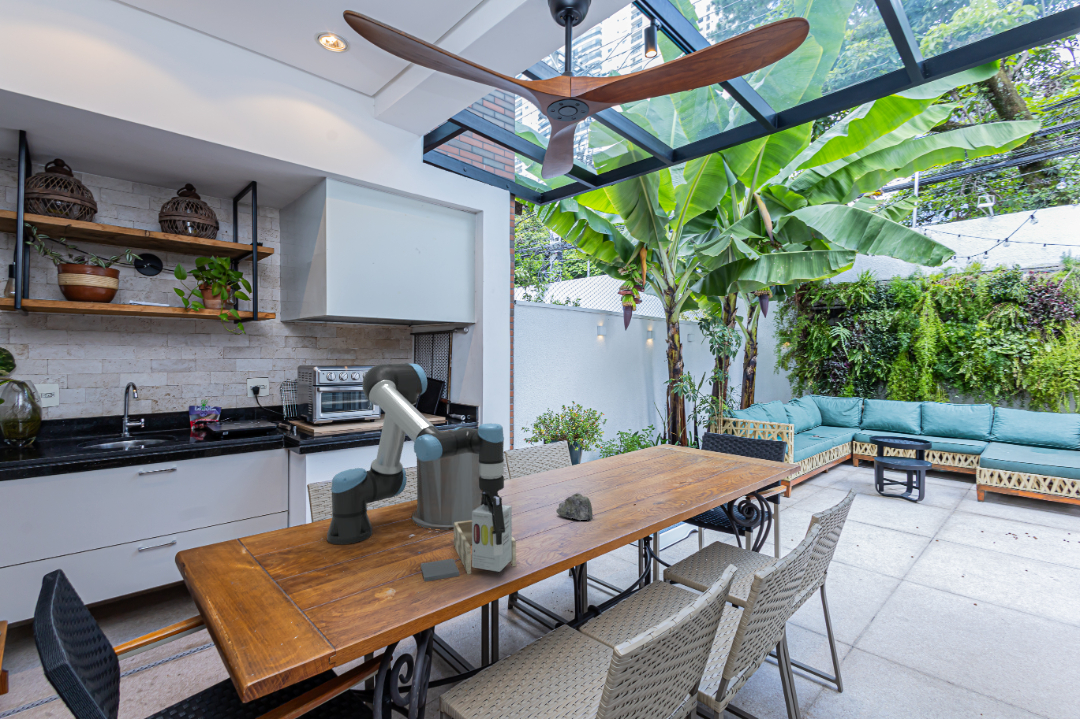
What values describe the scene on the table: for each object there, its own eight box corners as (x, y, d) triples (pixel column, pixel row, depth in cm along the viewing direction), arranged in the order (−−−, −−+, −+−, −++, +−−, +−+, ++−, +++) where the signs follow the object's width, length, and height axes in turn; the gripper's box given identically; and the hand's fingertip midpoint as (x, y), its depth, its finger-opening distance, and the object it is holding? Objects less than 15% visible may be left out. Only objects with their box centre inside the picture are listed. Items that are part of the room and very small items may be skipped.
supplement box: (471, 567, 144) (470, 511, 143) (484, 555, 152) (484, 502, 152) (500, 572, 140) (499, 514, 140) (513, 559, 149) (512, 504, 149)
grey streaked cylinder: (427, 537, 173) (426, 447, 172) (401, 510, 203) (400, 433, 202) (514, 519, 190) (513, 437, 190) (479, 497, 221) (478, 426, 220)
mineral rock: (554, 516, 194) (554, 491, 194) (575, 510, 201) (575, 486, 200) (575, 525, 184) (575, 498, 184) (596, 519, 190) (596, 493, 190)
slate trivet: (420, 567, 149) (420, 563, 149) (453, 562, 152) (453, 558, 152) (424, 581, 139) (424, 577, 139) (459, 575, 143) (459, 571, 143)
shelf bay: (453, 545, 165) (453, 522, 165) (496, 539, 170) (496, 516, 170) (467, 574, 144) (467, 547, 144) (516, 566, 149) (515, 540, 149)
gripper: (515, 484, 136) (516, 560, 136) (492, 465, 159) (493, 530, 159) (489, 487, 133) (490, 564, 133) (470, 467, 156) (471, 533, 157)
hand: (492, 546), depth 146 cm, fingers closed on supplement box, 13 cm apart
